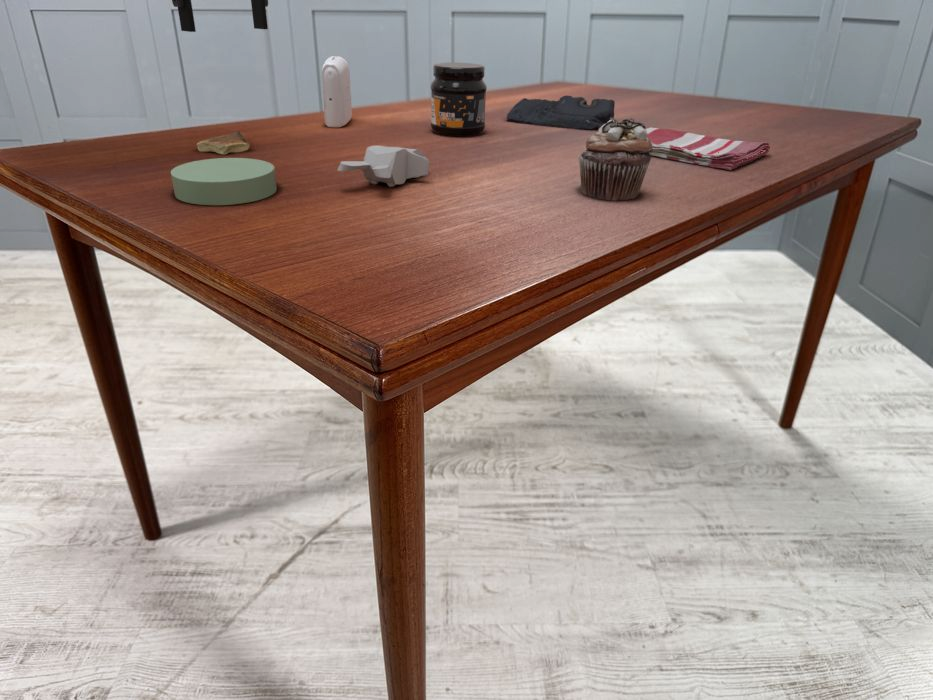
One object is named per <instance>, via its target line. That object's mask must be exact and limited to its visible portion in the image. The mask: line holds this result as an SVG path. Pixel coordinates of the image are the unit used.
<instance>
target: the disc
mask: <svg viewBox="0 0 933 700" xmlns="http://www.w3.org/2000/svg"><path fill="white" fill-rule="evenodd" d="M170 177H171V183H172V188H173V191H174V192H173V193H174V197H175V198H176V199H177V200H179V201H181V202H183V203H186V204H190V205H191V204H192V205H197V206H235V205H242V204H248V203H252V202H257V201H261V200H264V199H267V198H269V197H271V196H273V195H274V194H275V193H276V192H277V190H278V187H277V186H278V185H277V179H276V169H275V166H274V164H272V163H270V162H269V161H265V160H262V159H256V158H248V157H219V158H208V159H207V158H206V159H200V160H194V161H190V162H189V161H188V162H186V163H185V162H184V163H183V164H179V165H176V166H174V168H172V169H171V170H170Z"/></svg>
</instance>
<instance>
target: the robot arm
mask: <svg viewBox="0 0 933 700" xmlns="http://www.w3.org/2000/svg"><path fill="white" fill-rule="evenodd" d="M171 2H172V5H173V7H174V8H177V12H178V18H179V24H180V25H179V26H180V31H181V32H187V33H188V32H189V33H196V32H197V30H196V24H195V23H196V22H195V17H194V11H193V4H192V0H171ZM250 5H251V13H252V21H253V29H257V30H269V27H268V17H267V9H266V8H267V7H269V0H250Z"/></svg>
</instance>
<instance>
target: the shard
mask: <svg viewBox="0 0 933 700" xmlns="http://www.w3.org/2000/svg"><path fill="white" fill-rule="evenodd" d="M250 147H251V145H250V143H249V141H248V140H247V139H246V137H245V136H244V135H243V134H242V133H241V132H240V131H239V130H238V131H236V132H231V133H228V134H223V135H218V136H215V137H214V136H213V137H211V138H207V139H203V140H199V141H198V142H197V143H196V148H197V150H198V152H203V153H204V152H206V153H207V152H208V153H209V152H213V153H216V154H220V155H228V154H229V153H234V154H235V153H242V152H243V153H244V152H248V151H249V149H250Z"/></svg>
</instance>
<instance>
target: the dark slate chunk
mask: <svg viewBox="0 0 933 700" xmlns="http://www.w3.org/2000/svg"><path fill="white" fill-rule="evenodd" d="M615 104H616V103H615V101H614V100H613V99H607V98H594V99H592V100H591V103H590V104H588V101H587V100H586V99H585V98H584V97H582V96H577V97H573V96H572V95H563V96H561V97H560V98H559V100H548V99H545V98H544V99H541V98H531V99H528V98H525V97H523V98H522V99H520V100H519V101H518V102H517V103H515V105H513V107H512V108H511V109H510V110H509V111H508V113H507V114H506V119H507V120H508V121H512V122H516V123H520V124H529V125H537V126H547V127H555V128H567V129H568V128H569V129H577V130H587V131H589V130H592V131H593V130H599V128H600V127H601V126H603V125H604V124H606V123H607V122H608V121H609V120H610V118H613V119H614V120H615V106H616V105H615Z"/></svg>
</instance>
